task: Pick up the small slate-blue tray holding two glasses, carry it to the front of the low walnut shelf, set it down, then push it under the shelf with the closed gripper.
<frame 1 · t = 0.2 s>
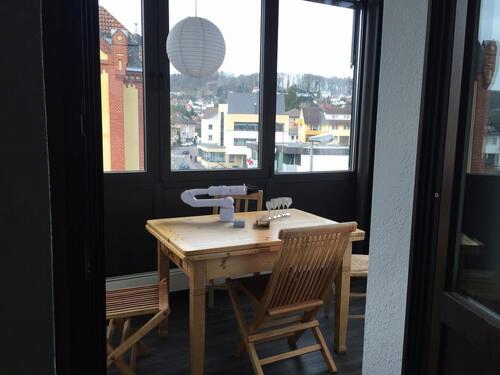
hand: (257, 189, 278), 21 cm above the table, tool horizontal, fingers open, 7 cm apart
walnut shelf: (262, 225, 269), on the table
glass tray: (239, 226, 265), on the table
goblet set: (278, 216, 301), on the table
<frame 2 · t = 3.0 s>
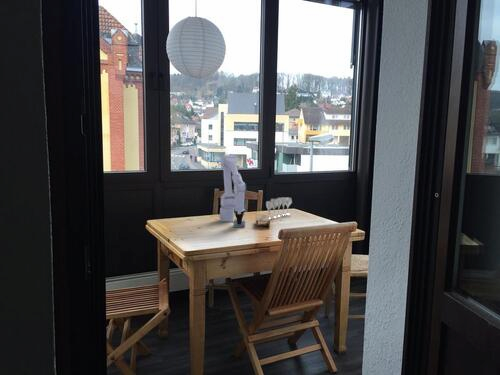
hand: (239, 223, 265), 2 cm above the table, tool pointing down, fingers closed on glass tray, 5 cm apart
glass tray: (239, 226, 265), on the table, touching gripper
everything else where it was.
when the fingers open (3 cm above the table, at t = 6.7 s): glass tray drops 1 cm, on the table.
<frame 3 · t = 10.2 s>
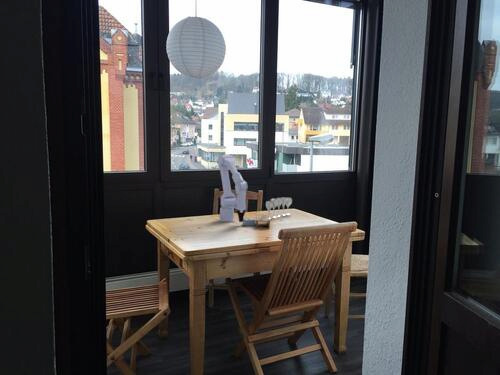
hand: (240, 221, 269), 2 cm above the table, tool pointing down, fingers closed
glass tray: (248, 225, 269), on the table, touching gripper
everything else where it was.
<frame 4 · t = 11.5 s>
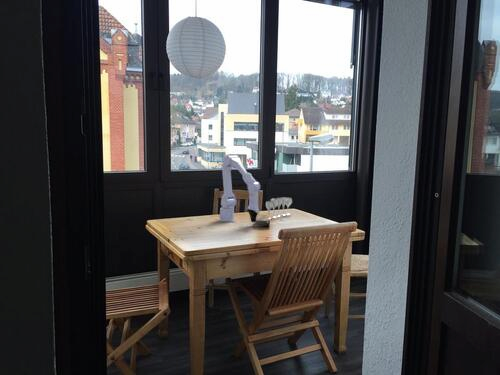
hand: (253, 221, 268), 2 cm above the table, tool pointing down, fingers closed, pressing on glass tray
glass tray: (260, 225, 270), on the table, touching gripper
everything else where it was.
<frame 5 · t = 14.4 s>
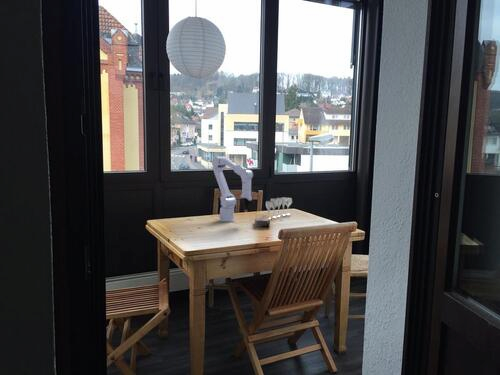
hand: (246, 209, 271), 9 cm above the table, tool pointing down, fingers closed
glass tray: (260, 225, 270), on the table
everything else where it was.
at the end: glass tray 1.1 cm from the target spot, on the table; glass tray tilted 0°; the gripper is holding nothing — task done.
